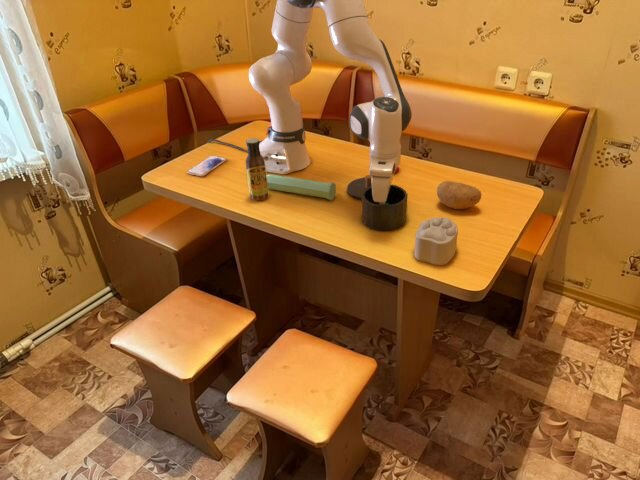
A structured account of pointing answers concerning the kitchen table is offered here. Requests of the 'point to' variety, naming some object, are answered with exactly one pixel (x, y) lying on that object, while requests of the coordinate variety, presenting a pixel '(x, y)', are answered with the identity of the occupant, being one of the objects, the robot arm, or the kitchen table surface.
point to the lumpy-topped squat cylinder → (436, 241)
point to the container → (301, 186)
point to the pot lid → (359, 186)
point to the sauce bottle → (256, 171)
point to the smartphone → (206, 166)
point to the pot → (385, 209)
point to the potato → (458, 195)
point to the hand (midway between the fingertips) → (384, 200)
